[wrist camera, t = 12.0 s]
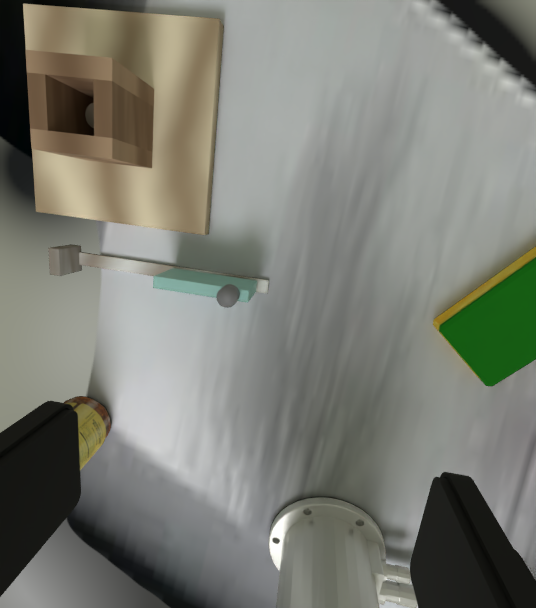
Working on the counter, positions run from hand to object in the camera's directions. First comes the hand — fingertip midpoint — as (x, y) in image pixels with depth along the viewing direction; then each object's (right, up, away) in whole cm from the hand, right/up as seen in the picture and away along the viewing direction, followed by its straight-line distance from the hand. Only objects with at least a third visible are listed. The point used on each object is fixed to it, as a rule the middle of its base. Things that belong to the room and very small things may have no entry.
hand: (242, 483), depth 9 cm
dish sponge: (+23, +5, +21) cm, 31 cm away
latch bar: (-4, +7, +24) cm, 25 cm away
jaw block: (-12, +19, +20) cm, 30 cm away
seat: (-9, +17, +22) cm, 29 cm away
